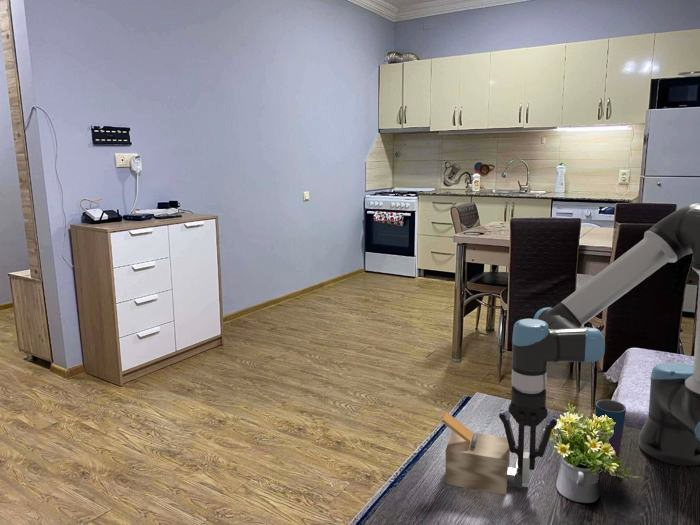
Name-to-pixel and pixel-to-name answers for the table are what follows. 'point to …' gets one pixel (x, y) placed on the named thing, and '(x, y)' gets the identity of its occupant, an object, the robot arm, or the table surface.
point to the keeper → (459, 429)
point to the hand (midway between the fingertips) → (525, 480)
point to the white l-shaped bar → (515, 476)
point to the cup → (617, 414)
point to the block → (478, 463)
